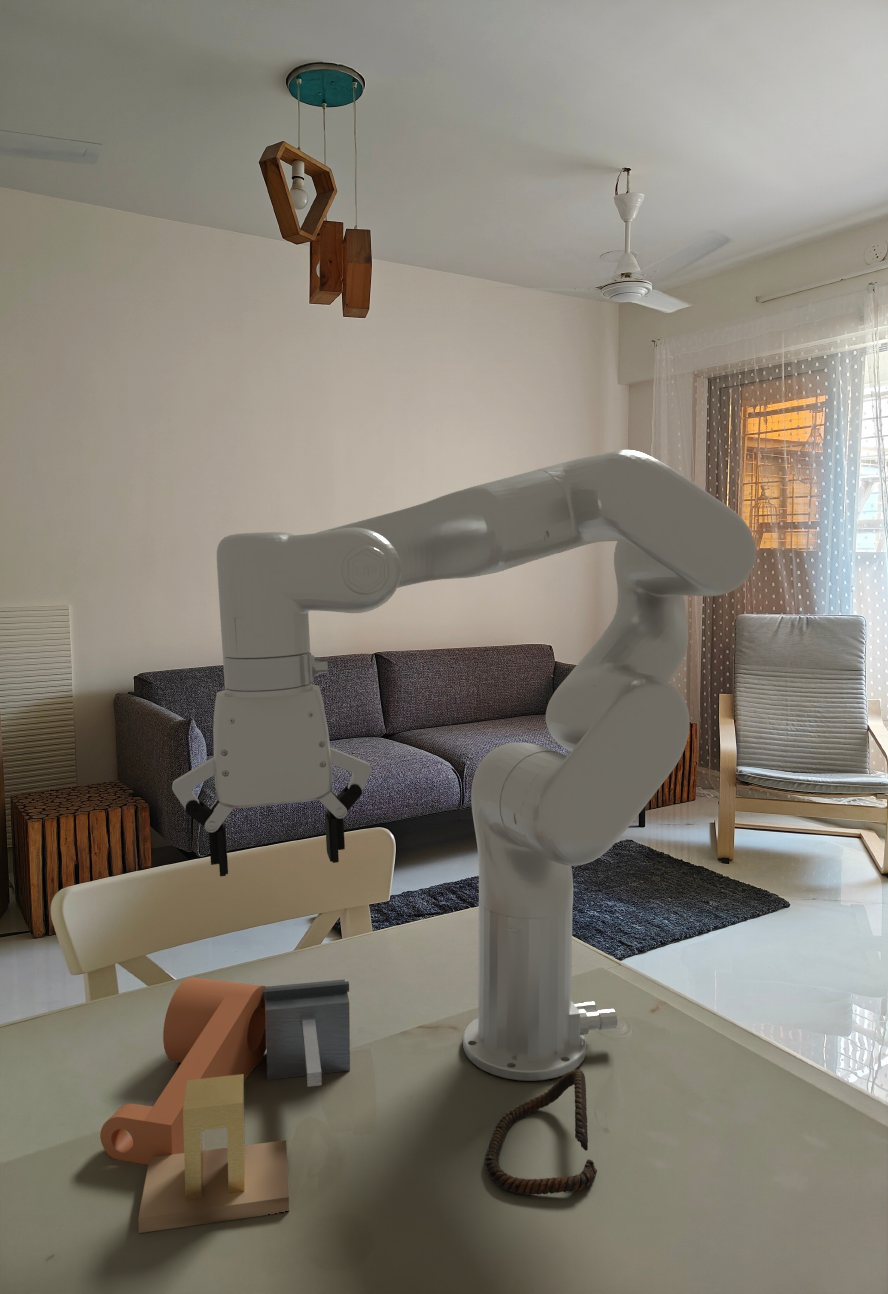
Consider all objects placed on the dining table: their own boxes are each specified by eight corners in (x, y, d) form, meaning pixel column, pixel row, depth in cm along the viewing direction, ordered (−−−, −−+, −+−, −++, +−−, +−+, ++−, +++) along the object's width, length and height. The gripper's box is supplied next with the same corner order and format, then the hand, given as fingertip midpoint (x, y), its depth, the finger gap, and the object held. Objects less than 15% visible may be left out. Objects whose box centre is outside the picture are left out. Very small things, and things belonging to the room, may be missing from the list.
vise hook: (346, 1038, 94) (345, 967, 93) (363, 1132, 78) (362, 1047, 77) (264, 1047, 92) (263, 974, 91) (265, 1145, 76) (264, 1057, 76)
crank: (204, 1036, 95) (202, 964, 94) (273, 1045, 93) (272, 972, 92) (87, 1156, 75) (84, 1066, 75) (172, 1171, 73) (170, 1078, 73)
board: (286, 1153, 75) (286, 1140, 75) (289, 1211, 68) (288, 1196, 68) (150, 1171, 73) (149, 1157, 73) (138, 1233, 66) (138, 1217, 66)
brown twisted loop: (571, 1173, 67) (455, 1127, 72) (570, 1235, 68) (456, 1185, 73) (631, 1073, 78) (527, 1039, 83) (629, 1128, 79) (527, 1091, 84)
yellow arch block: (245, 1158, 73) (243, 1074, 72) (244, 1191, 69) (242, 1102, 68) (189, 1165, 72) (187, 1080, 71) (185, 1199, 68) (183, 1109, 67)
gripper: (359, 663, 84) (367, 841, 85) (167, 676, 80) (180, 862, 81) (373, 673, 76) (382, 866, 78) (162, 687, 72) (176, 891, 74)
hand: (279, 864), depth 80 cm, fingers open, 9 cm apart
